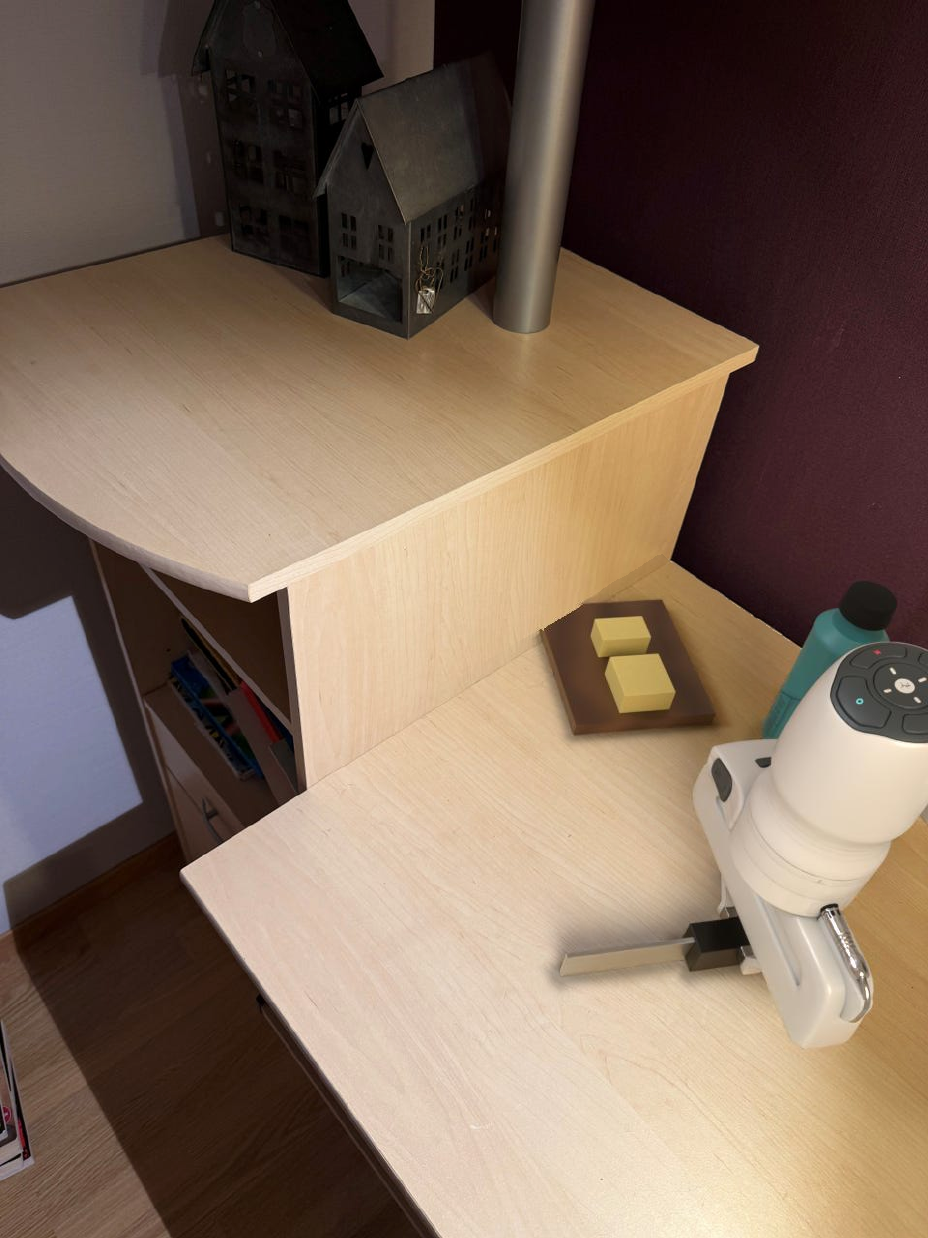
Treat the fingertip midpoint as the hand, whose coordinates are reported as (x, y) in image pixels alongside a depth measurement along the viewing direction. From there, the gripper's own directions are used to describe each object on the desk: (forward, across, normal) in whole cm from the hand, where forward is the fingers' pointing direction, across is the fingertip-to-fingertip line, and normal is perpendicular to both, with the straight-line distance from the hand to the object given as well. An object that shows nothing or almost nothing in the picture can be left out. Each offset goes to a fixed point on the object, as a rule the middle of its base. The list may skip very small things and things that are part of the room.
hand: (738, 941), depth 70 cm
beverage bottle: (+2, +18, -13) cm, 23 cm away
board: (+2, +30, 0) cm, 30 cm away
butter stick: (0, +26, 0) cm, 26 cm away
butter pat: (0, +32, 0) cm, 32 cm away
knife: (+2, 0, +4) cm, 4 cm away
